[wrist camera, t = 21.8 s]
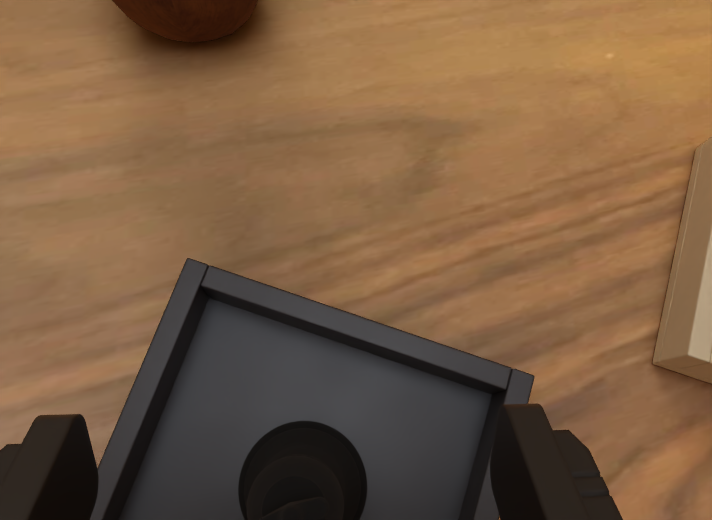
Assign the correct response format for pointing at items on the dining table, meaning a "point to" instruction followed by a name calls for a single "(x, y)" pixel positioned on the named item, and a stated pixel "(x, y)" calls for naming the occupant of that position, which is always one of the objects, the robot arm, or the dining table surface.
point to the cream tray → (691, 281)
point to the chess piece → (303, 475)
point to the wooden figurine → (189, 17)
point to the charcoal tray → (299, 405)
